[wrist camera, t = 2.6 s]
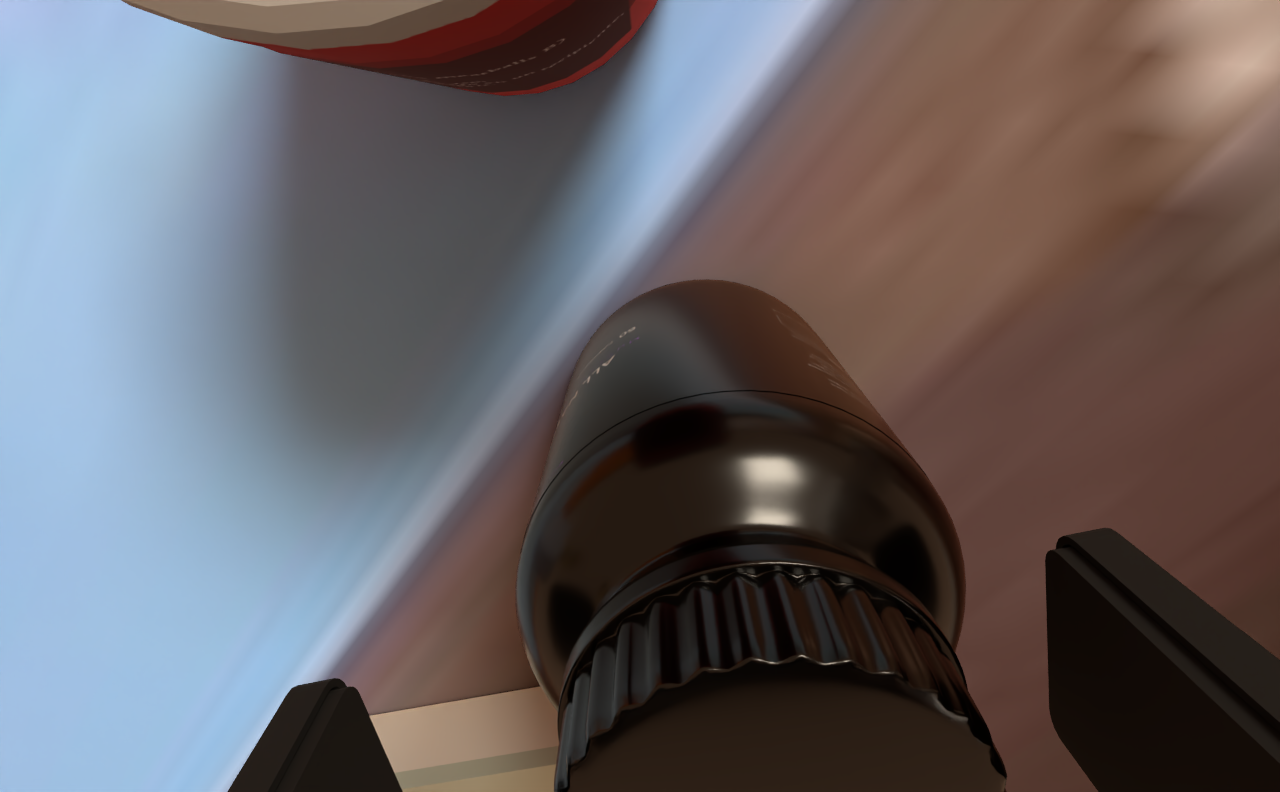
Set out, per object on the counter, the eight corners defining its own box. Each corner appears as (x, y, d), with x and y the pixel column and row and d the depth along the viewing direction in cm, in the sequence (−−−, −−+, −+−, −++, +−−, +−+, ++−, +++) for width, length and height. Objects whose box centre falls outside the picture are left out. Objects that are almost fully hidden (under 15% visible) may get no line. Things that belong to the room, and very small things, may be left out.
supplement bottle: (546, 293, 17) (371, 590, 6) (825, 256, 17) (1175, 501, 6) (589, 534, 20) (521, 1063, 9) (835, 506, 20) (1097, 1017, 8)
